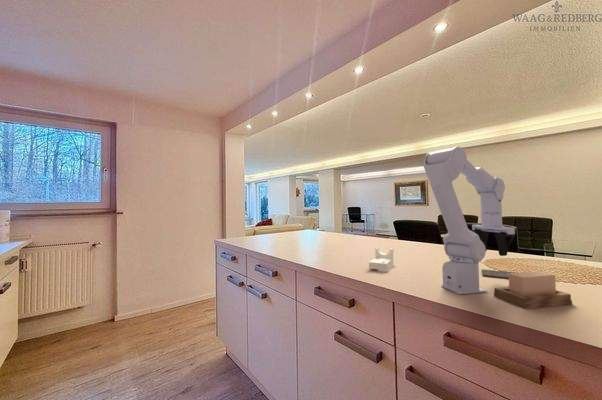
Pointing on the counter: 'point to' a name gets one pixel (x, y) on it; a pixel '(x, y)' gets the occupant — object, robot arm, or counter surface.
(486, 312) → the counter surface
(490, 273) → the chocolate bar
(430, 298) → the counter surface
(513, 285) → the clay block
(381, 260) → the bracket
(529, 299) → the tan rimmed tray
